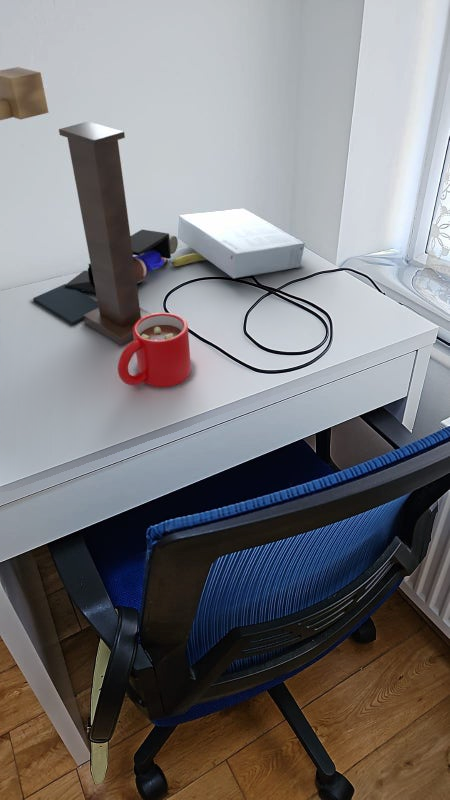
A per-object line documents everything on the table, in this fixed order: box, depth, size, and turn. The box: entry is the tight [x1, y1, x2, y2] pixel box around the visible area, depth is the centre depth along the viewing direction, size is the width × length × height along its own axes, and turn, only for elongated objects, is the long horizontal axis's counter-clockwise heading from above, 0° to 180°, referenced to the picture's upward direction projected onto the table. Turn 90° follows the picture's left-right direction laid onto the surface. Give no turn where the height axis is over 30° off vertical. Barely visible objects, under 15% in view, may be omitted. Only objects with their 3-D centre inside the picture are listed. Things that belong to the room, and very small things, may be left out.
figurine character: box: [130, 229, 179, 283], centre depth 110 cm, size 7×8×15 cm
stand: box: [58, 121, 152, 346], centre depth 88 cm, size 8×10×31 cm
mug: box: [117, 312, 192, 388], centre depth 84 cm, size 8×12×8 cm, turn 138°
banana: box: [171, 252, 208, 267], centre depth 113 cm, size 8×2×4 cm
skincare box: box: [177, 208, 306, 279], centre depth 114 cm, size 21×6×16 cm
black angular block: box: [65, 262, 143, 295], centre depth 106 cm, size 12×7×5 cm, turn 69°
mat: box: [32, 283, 99, 326], centre depth 103 cm, size 12×7×1 cm, turn 47°
